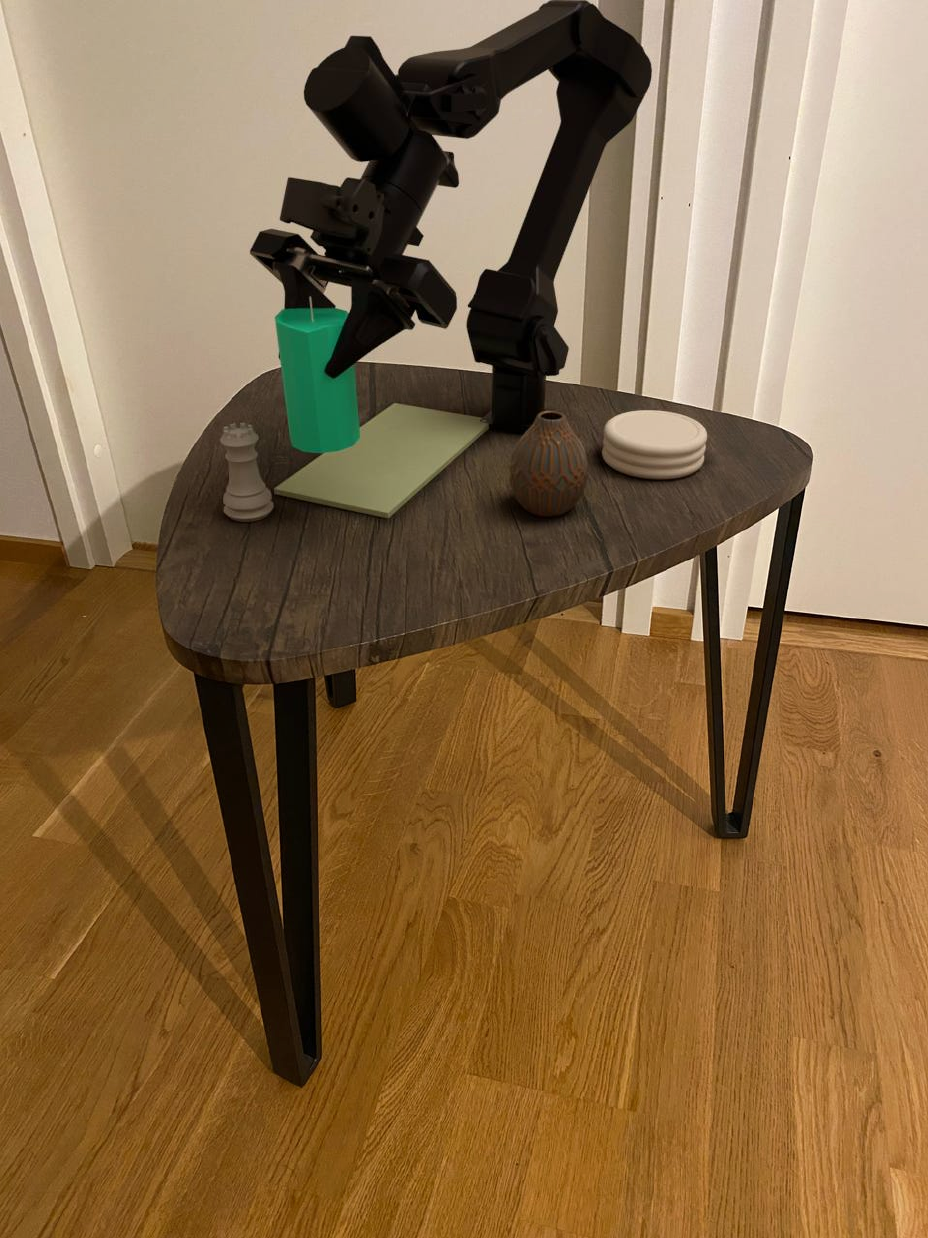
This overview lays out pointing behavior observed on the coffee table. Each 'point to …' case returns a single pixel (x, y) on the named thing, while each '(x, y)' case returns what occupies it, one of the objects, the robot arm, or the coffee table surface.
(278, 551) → the coffee table surface
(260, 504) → the rook chess piece
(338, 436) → the candle
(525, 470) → the vase
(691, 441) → the coaster
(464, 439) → the pale green rectangular board
